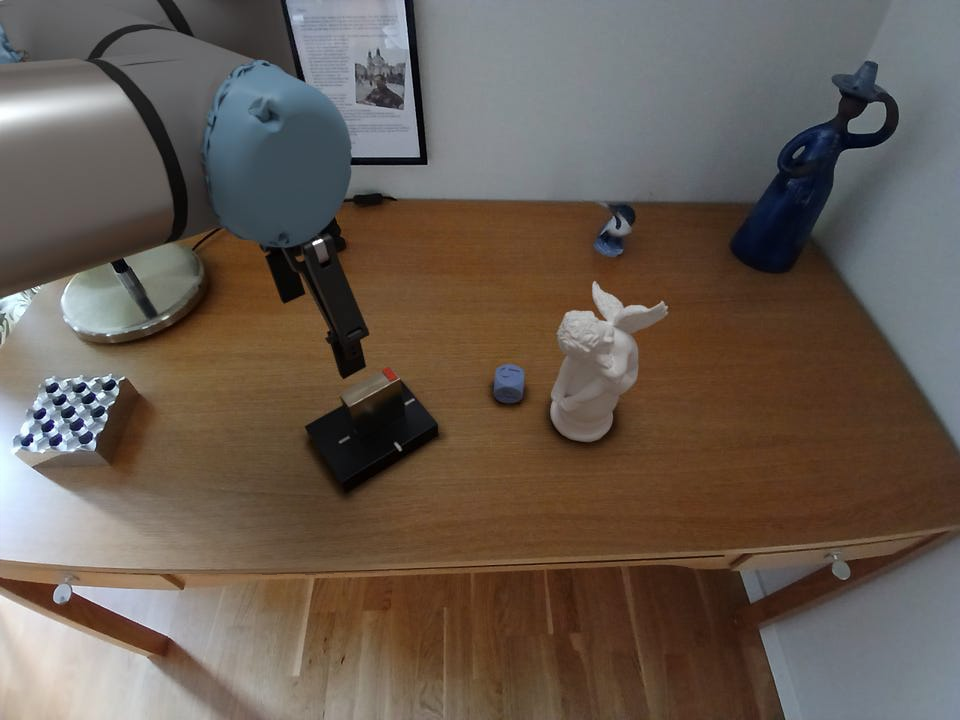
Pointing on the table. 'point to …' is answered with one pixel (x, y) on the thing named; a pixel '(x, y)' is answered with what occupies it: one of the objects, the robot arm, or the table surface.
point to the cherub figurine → (597, 364)
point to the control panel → (370, 441)
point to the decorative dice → (509, 383)
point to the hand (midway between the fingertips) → (321, 332)
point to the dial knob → (373, 403)
